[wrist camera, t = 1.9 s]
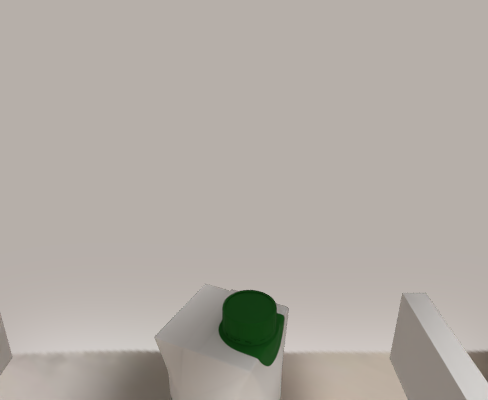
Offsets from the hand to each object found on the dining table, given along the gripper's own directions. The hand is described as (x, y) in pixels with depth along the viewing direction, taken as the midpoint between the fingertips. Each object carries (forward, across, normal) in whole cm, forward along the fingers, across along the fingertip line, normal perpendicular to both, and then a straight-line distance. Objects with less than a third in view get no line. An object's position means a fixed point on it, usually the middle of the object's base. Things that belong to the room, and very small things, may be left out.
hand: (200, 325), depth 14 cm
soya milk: (+15, 0, -30) cm, 33 cm away
